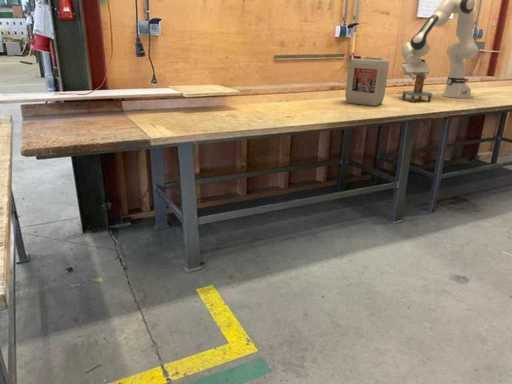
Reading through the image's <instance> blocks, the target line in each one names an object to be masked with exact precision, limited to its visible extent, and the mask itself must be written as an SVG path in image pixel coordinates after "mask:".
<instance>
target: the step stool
mask: <svg viewBox="0 0 512 384" xmlns="http://www.w3.org/2000/svg"><path fill="white" fill-rule="evenodd" d="M407 95H408V96H411V99H410V103H412V104H413V103H414V104H415V98H416V97H418V100H422V98H423V97H427V103H431V101H432V96H433V95H434V94H433V93H432V92H429V91H424V90H422V93H416V92H414V90H403V91H402V96H401V100H402V101H406V97H407Z"/></svg>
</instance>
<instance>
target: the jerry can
mask: <svg viewBox="0 0 512 384" xmlns="http://www.w3.org/2000/svg"><path fill="white" fill-rule="evenodd" d="M389 63H390V60H389V59H387V58H385V57H380V56H379V57H375V56H374V57H373V56H365V57H362V56H361V55H353V57H352V58H351V59H350V60H349V63H348V66H347V78H346V87H345V96H344V97H345V102H346V103H348V104H354V105H364V106H372V107H376V106H378V105H380V104H382V103H383V102H384V98H385V97H386V95H385V94H386V86H387V80H388V75H389V67H390V66H389Z"/></svg>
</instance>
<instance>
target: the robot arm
mask: <svg viewBox="0 0 512 384" xmlns="http://www.w3.org/2000/svg"><path fill="white" fill-rule="evenodd" d="M475 4H476V3H475V0H442V1H441V2H440V3H439V4H438V5H437V7H436V9H435V10H434V11H433V13H432V14H431V15H430V16H429V17H428V18H427V20H426V21H425V22H424V24H423V25H422V26H421V28H420V29H419V31H418V32H417V33H416V34H415V35H414V36H413V37H412V38H411V39H410V41H407V42H405V43H404V44H403V45H402V46H401V55H402V57H403V59H404V61H405V62H403V63H402V64H401V68H402V73H403V75H404V76H408V77H410V78H411V80H413V81H414V80H416V75H417V74H422V75H425V78H424V81H426V80H427V75H429V73H431V69H430V67H429V65H428V64H427V60H426V59H424V58H421V57H424V56H426V55H427V54H428V53H429V52H430V50H431V49H430V48H431V47H430V45H429V43H428V41H427V37H428V35H429V34H430V32H431V31H432V30H433V28H434V27H436V28H438V27H439V28H441V27H443V26H445V25H446V23H447V22H448V21H449V19H450V18H451V15H452V14H457V20H456V28H455V29H456V30H455V35H456V36H457V38H458V40H459V42H452V43H450V44H449V45H448V46H447V48H446V54H447V55H448V58H449V62H450V63H449V64H450V65H449V72H448V77H447V80H446V85H445V89H444V92H443V94H442V96H443V97H448V98H455V99H456V98H458V99H467V98H469V99H470V98H473V97H474V95H472V93H471V88H470V87H469V86H468V84H467V83H466V82H469V78H466V77H465V76H466V72H467V66H466V65H465V61H464V60H471V59H474V58H476V56H477V55H478V54H479V48H478V45H477V44H476V42H475V39H474V24H475Z"/></svg>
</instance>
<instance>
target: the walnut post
mask: <svg viewBox="0 0 512 384" xmlns="http://www.w3.org/2000/svg"><path fill="white" fill-rule="evenodd" d="M424 78H425V75H422V74H417V75H415V83H414V87H413V91H414V92H416V93H422V91H424V90H423V89H424V85H425V84H424V83H425V80H424Z"/></svg>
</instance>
